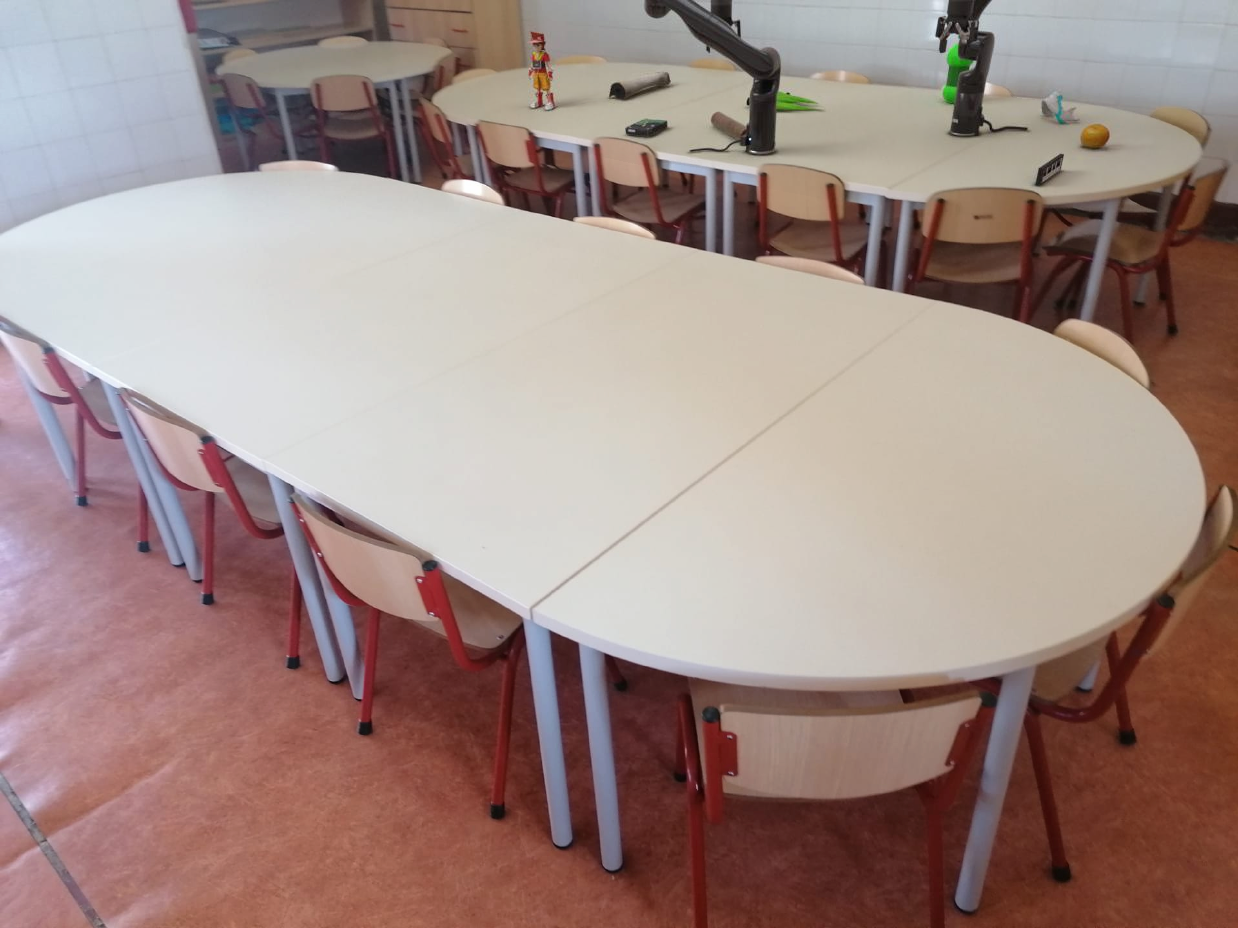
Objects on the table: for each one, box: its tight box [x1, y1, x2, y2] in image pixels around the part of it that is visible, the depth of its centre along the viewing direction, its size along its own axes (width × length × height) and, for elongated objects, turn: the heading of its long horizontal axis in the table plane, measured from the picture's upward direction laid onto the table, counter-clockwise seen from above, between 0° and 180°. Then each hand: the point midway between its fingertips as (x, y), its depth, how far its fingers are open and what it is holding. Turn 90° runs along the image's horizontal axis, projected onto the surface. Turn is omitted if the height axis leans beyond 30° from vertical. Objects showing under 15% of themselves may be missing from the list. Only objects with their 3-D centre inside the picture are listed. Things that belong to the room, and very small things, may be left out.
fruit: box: [1079, 123, 1111, 149], centre depth 296 cm, size 8×8×8 cm
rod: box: [710, 111, 746, 141], centre depth 331 cm, size 28×5×5 cm, turn 17°
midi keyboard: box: [1035, 153, 1065, 186], centre depth 273 cm, size 18×1×5 cm, turn 138°
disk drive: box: [624, 118, 668, 137], centre depth 342 cm, size 10×3×15 cm
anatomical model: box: [1040, 91, 1081, 124], centre depth 325 cm, size 15×10×10 cm
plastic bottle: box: [942, 34, 974, 104], centre depth 348 cm, size 10×10×25 cm
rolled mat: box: [608, 71, 672, 101], centre depth 395 cm, size 30×9×10 cm
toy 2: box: [745, 91, 821, 111], centre depth 360 cm, size 28×5×30 cm
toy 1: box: [527, 31, 556, 111], centre depth 374 cm, size 12×9×30 cm
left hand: (720, 52), depth 326 cm, fingers open, 8 cm apart
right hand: (953, 54), depth 285 cm, fingers open, 8 cm apart
